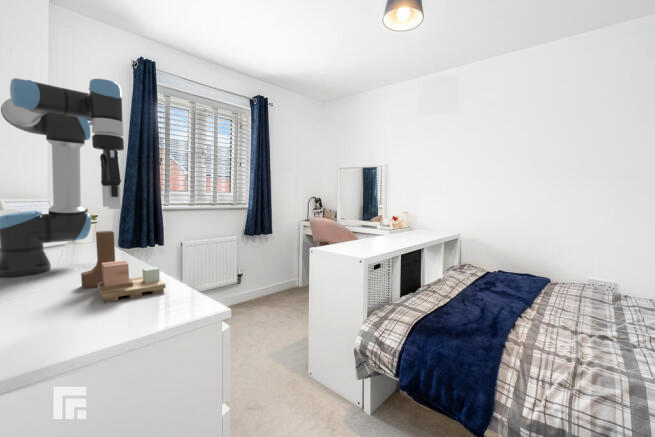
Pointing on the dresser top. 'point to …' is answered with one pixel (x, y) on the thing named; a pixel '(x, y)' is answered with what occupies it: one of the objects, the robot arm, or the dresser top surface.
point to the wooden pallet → (133, 290)
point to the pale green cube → (150, 274)
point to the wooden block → (100, 259)
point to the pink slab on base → (115, 276)
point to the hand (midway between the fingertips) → (111, 207)
